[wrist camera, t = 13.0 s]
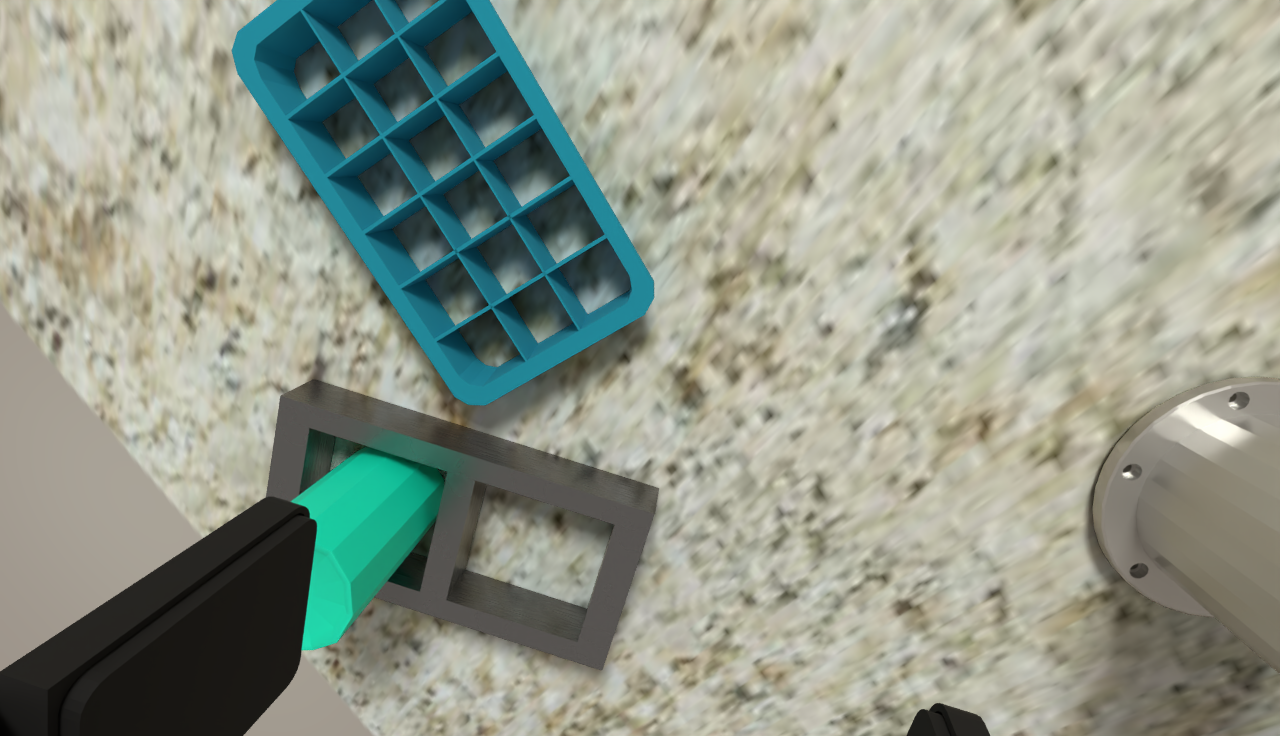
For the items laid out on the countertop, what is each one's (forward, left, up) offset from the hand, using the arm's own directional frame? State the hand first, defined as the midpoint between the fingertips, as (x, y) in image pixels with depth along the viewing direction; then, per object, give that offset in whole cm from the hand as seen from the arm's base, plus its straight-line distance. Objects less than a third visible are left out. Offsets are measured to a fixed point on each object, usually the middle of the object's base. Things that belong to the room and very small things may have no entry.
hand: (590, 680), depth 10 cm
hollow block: (+8, +14, -26) cm, 30 cm away
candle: (+13, +14, -26) cm, 32 cm away
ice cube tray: (+12, -4, -26) cm, 29 cm away
